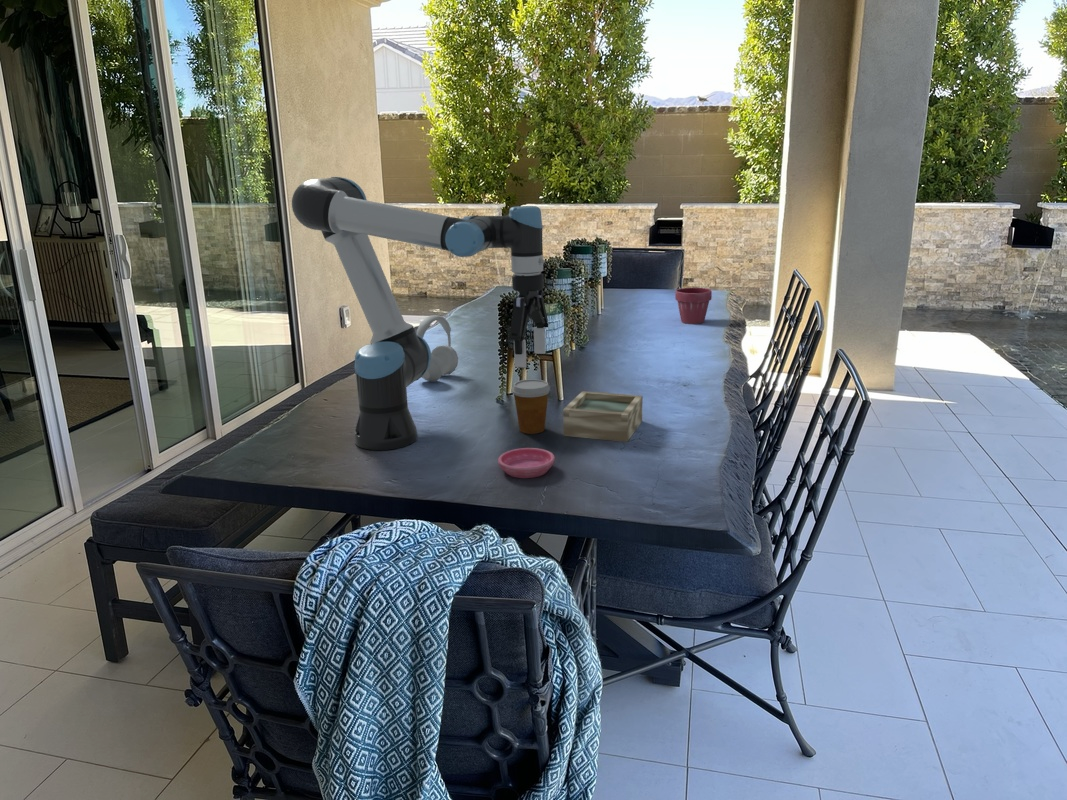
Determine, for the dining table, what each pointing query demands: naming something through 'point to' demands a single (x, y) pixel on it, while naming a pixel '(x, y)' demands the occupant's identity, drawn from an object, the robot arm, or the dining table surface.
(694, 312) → the plant pot
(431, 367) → the headphones
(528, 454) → the saucer
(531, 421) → the disposable coffee cup
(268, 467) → the dining table surface
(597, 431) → the open wooden box
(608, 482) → the dining table surface
